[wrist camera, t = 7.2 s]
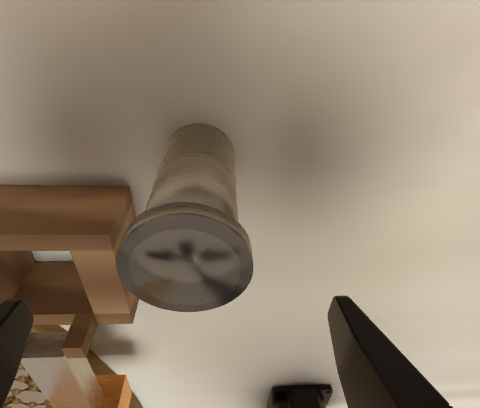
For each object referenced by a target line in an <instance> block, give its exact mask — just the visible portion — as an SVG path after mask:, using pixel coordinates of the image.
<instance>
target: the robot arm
mask: <svg viewBox="0 0 480 408" xmlns="http://www.w3.org/2000/svg"><path fill="white" fill-rule="evenodd" d="M33 322H34V317H33V314H32V312H31V311H30V309H29V307H28V305H27V304H26V302H25V301H24V300H23V299H8V300H5V301H4V302H2V303H1V304H0V408H2V407H3V405H4V403H5V401H6V398H7V396H8V394H9V392H10V389H11V387H12V385H13V382H14V380H15V377H16V375H17V372H18V369H19V366H20V363H21V360H22V357H23V354H24V351H25V348H26V344H27V341H28V338H29V335H30V332H31V329H32V326H33ZM328 322H329V327H330V333H331V338H332V344H333V349H334V355H335V360H336V365H337V370H338V374H339V378H340V381H341V385H342V388H343V391H344V395H345V398H346V402H347V405H348V408H453V407H452V406H449V403H448V402H447V401H446V400H445V399H444V398H443V396H442V395H441V394H440V393H439V392H438V391H437V390H436V389H435V388H434V387H433V386H432V385H431V384H430V383H429V382H428V381H427V379H426V378H425V377H424V376H423V375H422V374H421V373H420V372H419V371H418V370H417V369H416V368H415V367H414V366H413V365H412V363H411V362H410V361H409V360H408V359H407V358H406V357H405V356H404V355H403V354H402V353H401V352H400V351H399V350H398V349H397V348H396V346H395V345H394V344H393V343H392V342H391V341H390V340H389V339H388V338H387V337H386V336H385V335H384V334H383V333H382V332H381V330H380V329H379V328H378V327H377V326H376V325H375V324H374V323H373V322H372V321H371V320H370V319H369V318H368V317H367V316H366V315H365V313H364V312H363V311H362V310H361V309H360V308H359V307H358V306H357V305H356V304H355V303H354V302H353V301H352V300H351V299H350V298H349V297H348V296H335V297H333V299H332V302H331V305H330V308H329V311H328ZM332 393H333V389H332V387H331V386H307V387H276V388H273V389H272V391H271V395H270V399H269V403H268V408H326V405H327V403H328V401H329V399H330V397H331V395H332Z"/></svg>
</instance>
